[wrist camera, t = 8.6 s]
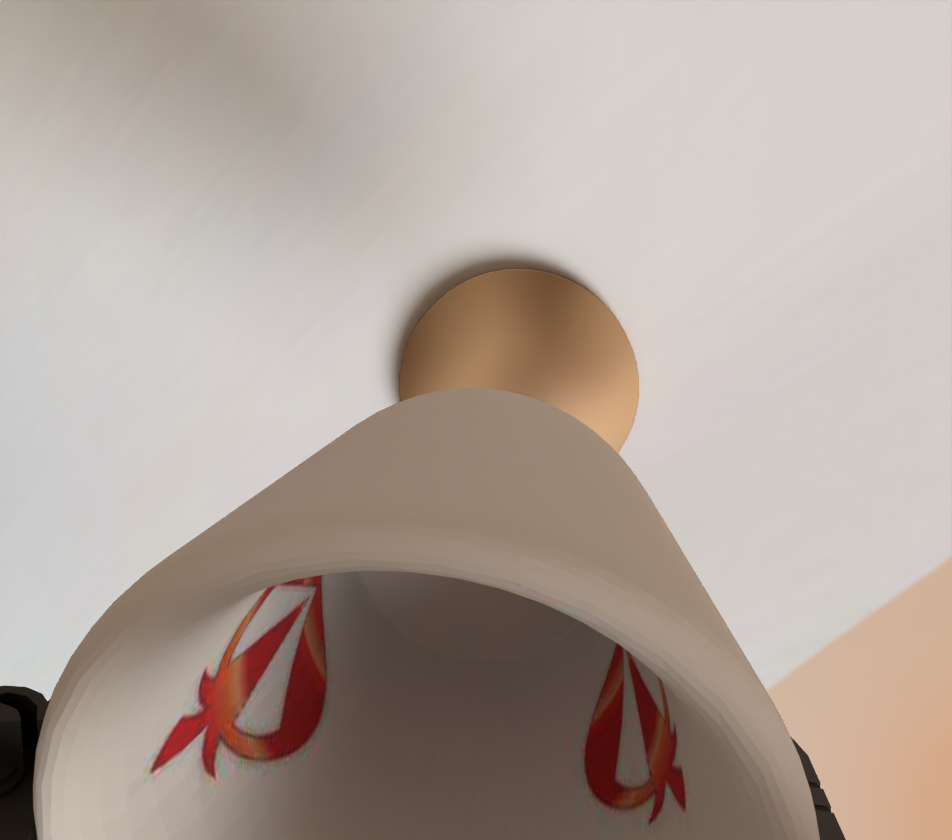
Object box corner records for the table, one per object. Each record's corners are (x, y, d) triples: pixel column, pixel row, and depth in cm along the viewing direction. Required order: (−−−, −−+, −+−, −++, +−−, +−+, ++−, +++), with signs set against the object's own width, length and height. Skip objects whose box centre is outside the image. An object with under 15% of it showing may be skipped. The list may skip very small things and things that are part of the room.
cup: (627, 822, 16) (689, 1360, 9) (287, 768, 17) (72, 1231, 9) (720, 362, 13) (945, 594, 6) (294, 314, 14) (-30, 466, 6)
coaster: (393, 476, 33) (389, 483, 32) (414, 252, 30) (411, 253, 29) (613, 511, 32) (614, 519, 31) (659, 286, 29) (661, 289, 28)
